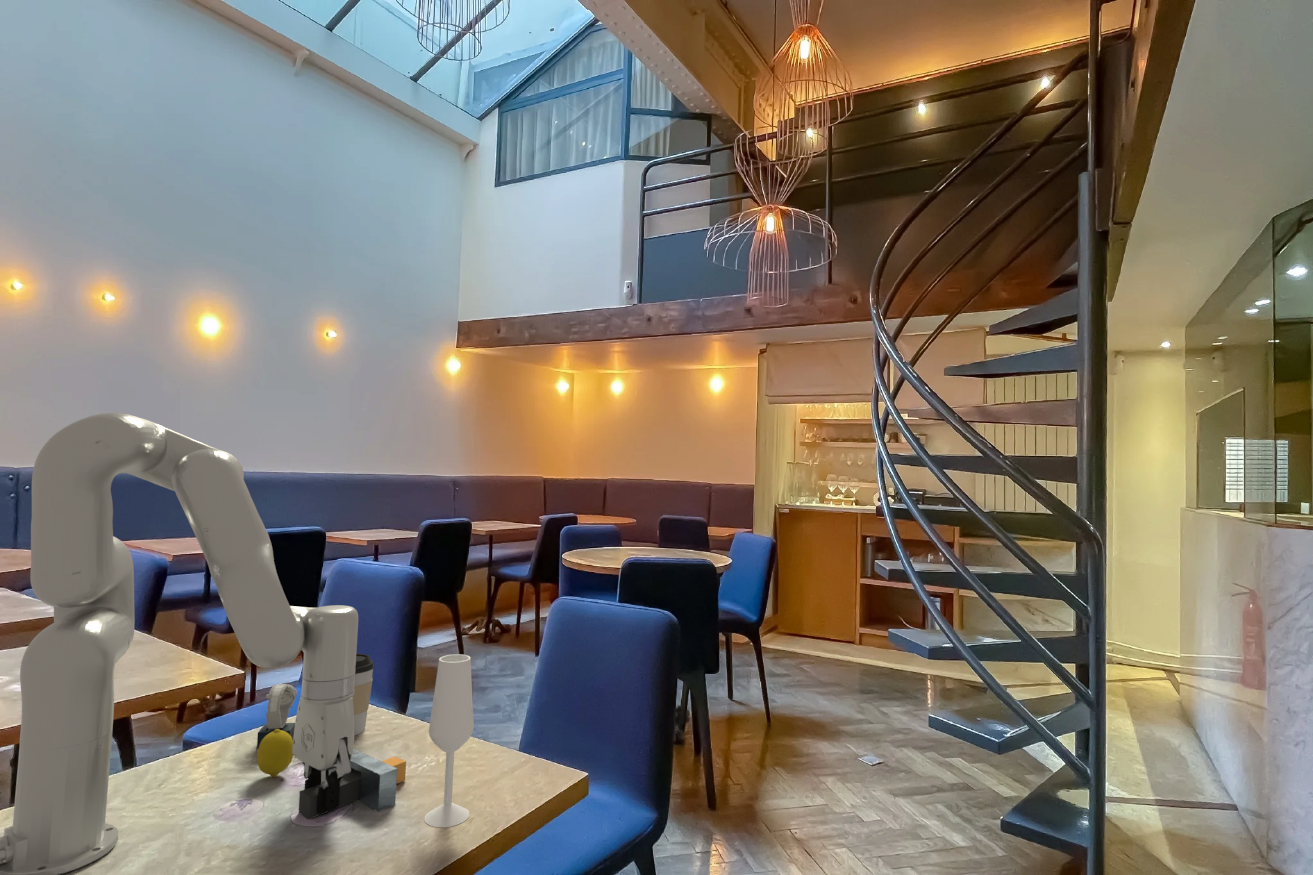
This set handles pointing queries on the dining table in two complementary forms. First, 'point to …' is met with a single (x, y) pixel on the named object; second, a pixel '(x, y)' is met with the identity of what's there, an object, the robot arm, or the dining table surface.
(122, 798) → the dining table surface
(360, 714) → the coffee cup
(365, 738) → the dining table surface
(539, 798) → the dining table surface
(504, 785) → the dining table surface
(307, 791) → the plug
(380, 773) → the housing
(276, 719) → the watch
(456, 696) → the champagne flute
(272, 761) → the lemon
